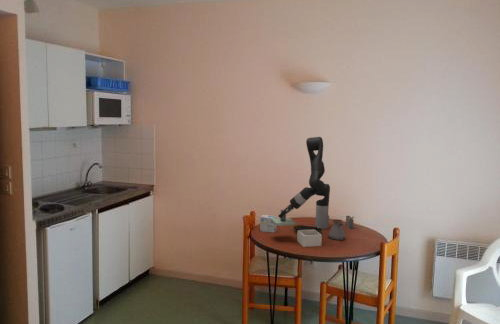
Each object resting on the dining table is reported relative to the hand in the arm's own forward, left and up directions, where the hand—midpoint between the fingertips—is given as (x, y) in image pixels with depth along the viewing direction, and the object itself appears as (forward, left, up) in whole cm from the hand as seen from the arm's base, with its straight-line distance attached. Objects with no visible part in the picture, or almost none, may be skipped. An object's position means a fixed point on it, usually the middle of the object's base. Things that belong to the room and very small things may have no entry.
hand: (280, 216), depth 264 cm
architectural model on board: (-62, -20, -17) cm, 67 cm away
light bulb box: (+2, -21, -16) cm, 27 cm away
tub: (-16, +13, -16) cm, 26 cm away
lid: (-2, +1, -5) cm, 5 cm away
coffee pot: (-38, +10, -16) cm, 42 cm away
